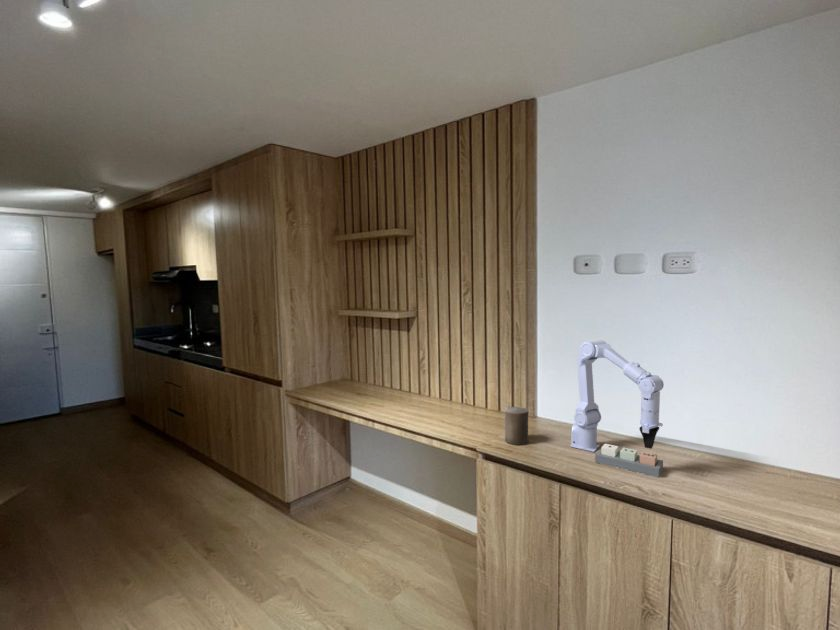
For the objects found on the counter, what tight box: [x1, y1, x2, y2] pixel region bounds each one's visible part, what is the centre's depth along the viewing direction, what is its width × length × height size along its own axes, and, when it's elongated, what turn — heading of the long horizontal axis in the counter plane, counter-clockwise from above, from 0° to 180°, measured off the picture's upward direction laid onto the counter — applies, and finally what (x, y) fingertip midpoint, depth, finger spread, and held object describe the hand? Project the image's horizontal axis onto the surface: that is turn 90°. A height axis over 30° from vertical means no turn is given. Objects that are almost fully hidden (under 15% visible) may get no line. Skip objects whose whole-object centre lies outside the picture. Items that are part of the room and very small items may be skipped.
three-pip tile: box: [640, 451, 658, 466], centre depth 154 cm, size 5×5×4 cm
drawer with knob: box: [600, 443, 619, 457], centre depth 162 cm, size 5×5×4 cm
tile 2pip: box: [619, 447, 638, 462], centre depth 158 cm, size 5×5×4 cm
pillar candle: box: [504, 406, 529, 446], centre depth 183 cm, size 10×10×15 cm
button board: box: [594, 447, 664, 478], centre depth 158 cm, size 21×9×3 cm, turn 52°
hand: (648, 447), depth 154 cm, fingers closed
